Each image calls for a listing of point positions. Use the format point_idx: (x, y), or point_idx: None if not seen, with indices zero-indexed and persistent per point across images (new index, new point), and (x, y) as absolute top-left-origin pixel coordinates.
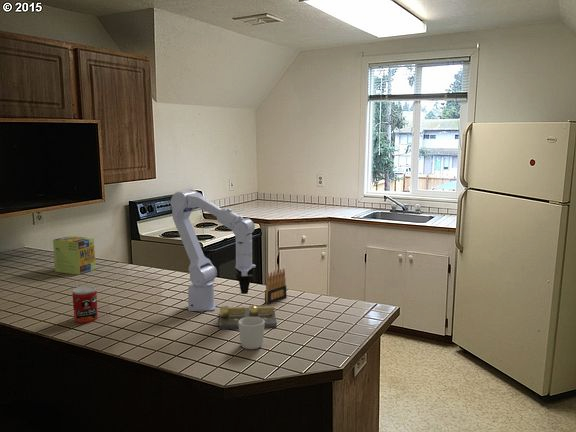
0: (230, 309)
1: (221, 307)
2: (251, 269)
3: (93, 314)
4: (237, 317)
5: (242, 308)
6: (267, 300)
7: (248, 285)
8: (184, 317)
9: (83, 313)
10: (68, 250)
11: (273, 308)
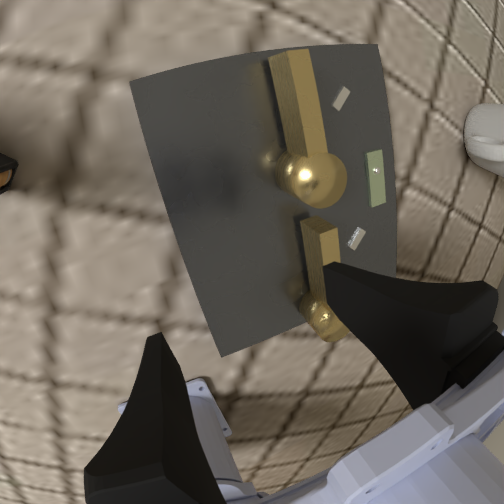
0: None
1: (336, 336)
2: (164, 459)
3: None
4: None
5: (338, 239)
6: (5, 172)
7: (396, 281)
8: (284, 411)
9: None
10: None
11: (305, 51)
